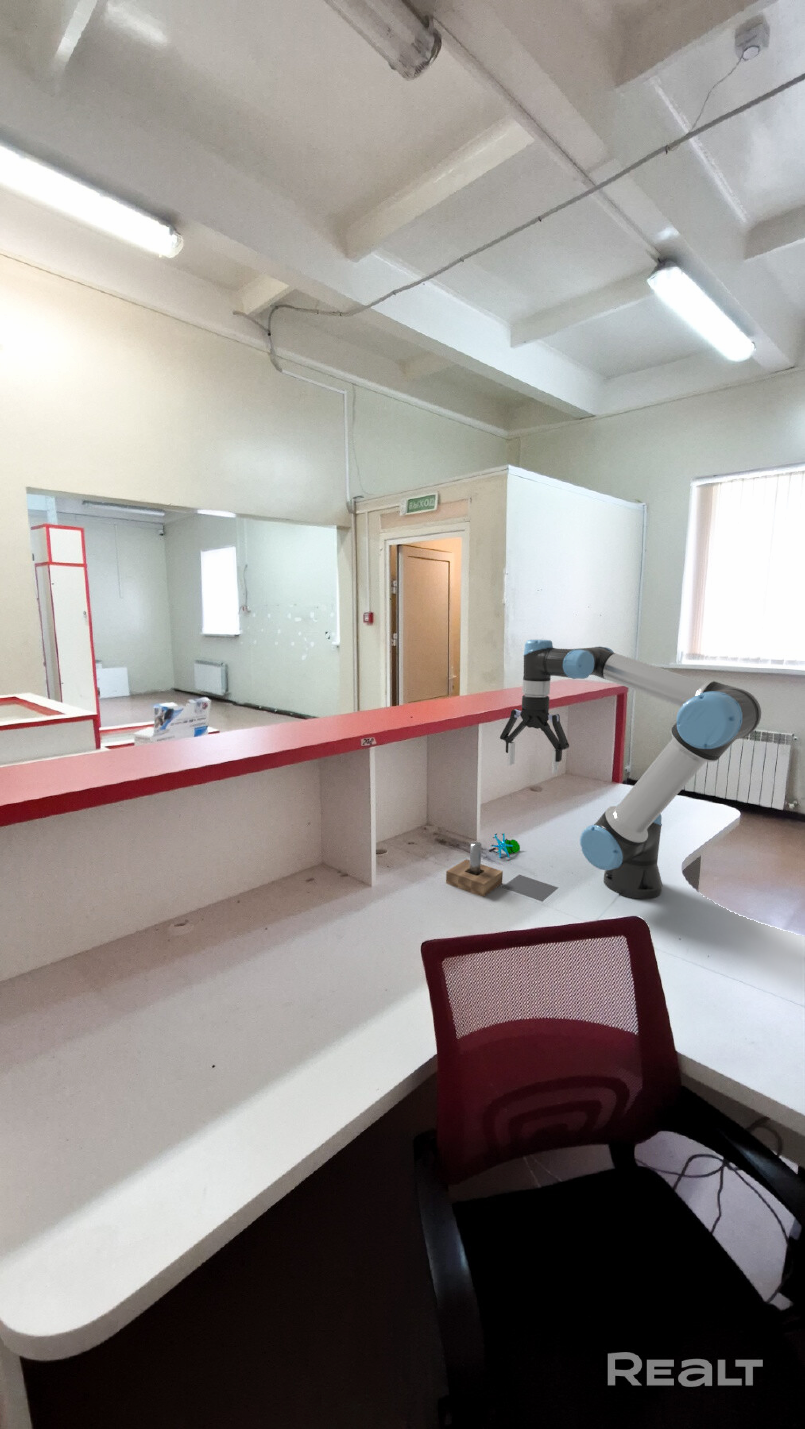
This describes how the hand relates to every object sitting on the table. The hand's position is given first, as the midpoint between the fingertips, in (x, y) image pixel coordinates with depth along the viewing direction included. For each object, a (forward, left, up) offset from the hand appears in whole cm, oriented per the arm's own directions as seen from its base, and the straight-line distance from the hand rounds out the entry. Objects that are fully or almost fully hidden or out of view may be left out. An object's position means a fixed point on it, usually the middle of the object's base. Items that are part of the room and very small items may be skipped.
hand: (532, 768), depth 168 cm
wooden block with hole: (+6, +19, -31) cm, 37 cm away
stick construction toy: (+11, -4, -31) cm, 33 cm away
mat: (-7, +11, -31) cm, 33 cm away
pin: (+6, +19, -31) cm, 37 cm away
